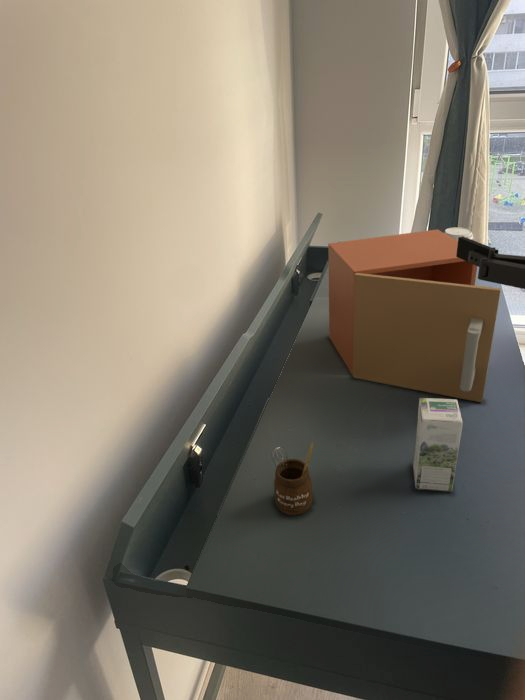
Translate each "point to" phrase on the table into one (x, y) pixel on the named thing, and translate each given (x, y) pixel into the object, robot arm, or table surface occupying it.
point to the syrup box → (436, 444)
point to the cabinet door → (424, 334)
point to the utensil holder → (293, 485)
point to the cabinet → (387, 273)
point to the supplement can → (459, 233)
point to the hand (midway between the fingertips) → (500, 237)
